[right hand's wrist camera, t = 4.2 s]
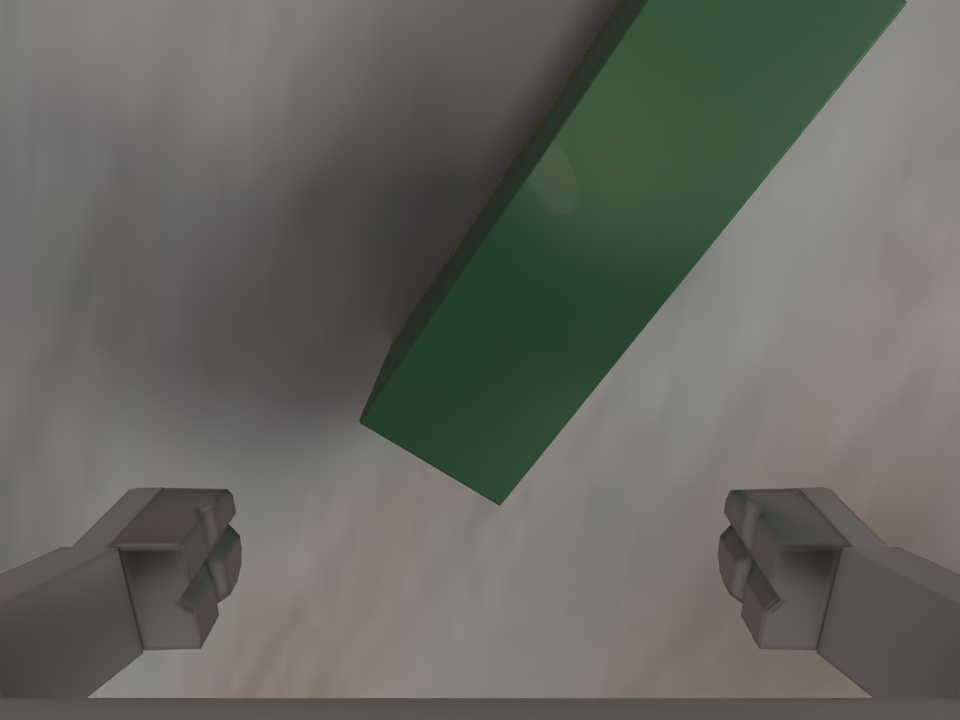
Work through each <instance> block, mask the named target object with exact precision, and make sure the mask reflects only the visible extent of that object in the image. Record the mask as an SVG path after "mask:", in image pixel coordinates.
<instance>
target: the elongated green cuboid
mask: <svg viewBox="0 0 960 720" xmlns="http://www.w3.org/2000/svg"><path fill="white" fill-rule="evenodd" d="M905 4H906V1H905V0H621V1H620V3H619V4H618V6H617V7H616V9H615V10H614V12H613V13H612V15H611V16H610V18H609V19H608V21H607V22H606V24H605V25H604V27H603V28H602V30H601V31H600V33H599V34H598V36H597V37H596V39H595V40H594V42H593V43H592V45H591V46H590V48H589V49H588V51H587V52H586V54H585V55H584V57H583V58H582V60H581V61H580V63H579V64H578V66H577V67H576V69H575V70H574V72H573V73H572V75H571V76H570V78H569V79H568V81H567V82H566V84H565V85H564V87H563V88H562V90H561V91H560V93H559V94H558V96H557V97H556V98H555V100H554V101H553V103H552V104H551V106H550V107H549V109H548V110H547V112H546V113H545V115H544V116H543V118H542V119H541V121H540V122H539V124H538V125H537V127H536V128H535V130H534V131H533V133H532V134H531V136H530V137H529V139H528V140H527V142H526V143H525V145H524V146H523V148H522V149H521V151H520V152H519V154H518V155H517V157H516V158H515V160H514V161H513V163H512V164H511V166H510V167H509V169H508V170H507V172H506V173H505V175H504V176H503V178H502V179H501V181H500V182H499V184H498V185H497V187H496V188H495V190H494V191H493V193H492V194H491V196H490V197H489V199H488V200H487V202H486V203H485V205H484V206H483V208H482V209H481V211H480V212H479V214H478V215H477V217H476V218H475V220H474V221H473V223H472V224H471V226H470V227H469V229H468V230H467V232H466V233H465V235H464V236H463V238H462V239H461V241H460V242H459V244H458V245H457V247H456V248H455V250H454V251H453V253H452V254H451V256H450V257H449V259H448V260H447V262H446V263H445V265H444V266H443V268H442V269H441V270H440V272H439V273H438V275H437V276H436V278H435V279H434V281H433V282H432V284H431V285H430V287H429V288H428V290H427V291H426V293H425V294H424V296H423V297H422V299H421V300H420V302H419V303H418V305H417V306H416V308H415V309H414V311H413V312H412V314H411V315H410V317H409V318H408V320H407V321H406V323H405V324H404V326H403V327H402V329H401V330H400V332H399V333H398V335H397V336H396V338H395V339H394V341H393V342H392V344H391V346H390V349H389V352H388V354H387V357H386V359H385V361H384V364H383V366H382V368H381V371H380V373H379V375H378V378H377V380H376V382H375V385H374V387H373V389H372V392H371V394H370V396H369V399H368V401H367V403H366V406H365V408H364V410H363V413H362V415H361V418H360V423H361V424H363V425H364V426H366V427H368V428H370V429H371V430H373V431H375V432H376V433H378V434H380V435H381V436H383V437H385V438H386V439H388V440H390V441H391V442H393V443H395V444H397V445H398V446H400V447H402V448H403V449H405V450H407V451H408V452H410V453H412V454H413V455H415V456H417V457H418V458H420V459H422V460H424V461H425V462H427V463H429V464H430V465H432V466H434V467H435V468H437V469H439V470H440V471H442V472H444V473H445V474H447V475H449V476H451V477H452V478H454V479H456V480H457V481H459V482H461V483H462V484H464V485H466V486H467V487H469V488H471V489H472V490H474V491H476V492H478V493H479V494H481V495H483V496H484V497H486V498H488V499H489V500H491V501H493V502H494V503H496V504H498V505H501V504H502V503H503V502H504V500H505V499H506V498H507V497H508V495H509V494H510V493H511V492H512V490H513V489H514V488H515V487H516V485H517V484H518V483H519V482H520V481H521V479H522V478H523V477H524V476H525V474H526V473H527V472H528V471H529V469H530V468H531V467H532V466H533V464H534V463H535V462H536V461H537V460H538V458H539V457H540V456H541V455H542V453H543V452H544V451H545V450H546V448H547V447H548V446H549V445H550V443H551V442H552V441H553V440H554V439H555V437H556V436H557V435H558V434H559V432H560V431H561V430H562V429H563V427H564V426H565V425H566V424H567V422H568V421H569V420H570V419H571V418H572V416H573V415H574V414H575V413H576V411H577V410H578V409H579V408H580V406H581V405H582V404H583V403H584V401H585V400H586V399H587V398H588V397H589V395H590V394H591V393H592V392H593V390H594V389H595V388H596V387H597V385H598V384H599V383H600V382H601V380H602V379H603V378H604V377H605V376H606V374H607V373H608V372H609V371H610V369H611V368H612V367H613V366H614V364H615V363H616V362H617V361H618V359H619V358H620V357H621V356H622V354H623V353H624V352H625V351H626V350H627V348H628V347H629V346H630V345H631V343H632V342H633V341H634V340H635V338H636V337H637V336H638V335H639V333H640V332H641V331H642V330H643V329H644V327H645V326H646V325H647V324H648V322H649V321H650V320H651V319H652V317H653V316H654V315H655V314H656V312H657V311H658V310H659V309H660V308H661V306H662V305H663V304H664V303H665V301H666V300H667V299H668V298H669V296H670V295H671V294H672V293H673V291H674V290H675V289H676V288H677V287H678V285H679V284H680V283H681V282H682V280H683V279H684V278H685V277H686V275H687V274H688V273H689V272H690V270H691V269H692V268H693V267H694V266H695V264H696V263H697V262H698V261H699V259H700V258H701V257H702V256H703V254H704V253H705V252H706V251H707V249H708V248H709V247H710V246H711V245H712V243H713V242H714V241H715V240H716V238H717V237H718V236H719V235H720V233H721V232H722V231H723V230H724V228H725V227H726V226H727V225H728V224H729V222H730V221H731V220H732V219H733V217H734V216H735V215H736V214H737V212H738V211H739V210H740V209H741V207H742V206H743V205H744V204H745V203H746V201H747V200H748V199H749V198H750V196H751V195H752V194H753V193H754V191H755V190H756V189H757V188H758V186H759V185H760V184H761V183H762V181H763V180H764V179H765V178H766V177H767V175H768V174H769V173H770V172H771V170H772V169H773V168H774V167H775V165H776V164H777V163H778V162H779V160H780V159H781V158H782V157H783V156H784V154H785V153H786V152H787V151H788V149H789V148H790V147H791V146H792V144H793V143H794V142H795V141H796V139H797V138H798V137H799V136H800V135H801V133H802V132H803V131H804V130H805V128H806V127H807V126H808V125H809V123H810V122H811V121H812V120H813V118H814V117H815V116H816V115H817V114H818V112H819V111H820V110H821V109H822V107H823V106H824V105H825V104H826V102H827V101H828V100H829V99H830V97H831V96H832V95H833V94H834V93H835V91H836V90H837V89H838V88H839V86H840V85H841V84H842V83H843V81H844V80H845V79H846V78H847V76H848V75H849V74H850V73H851V72H852V70H853V69H854V68H855V67H856V65H857V64H858V63H859V62H860V60H861V59H862V58H863V57H864V55H865V54H866V53H867V52H868V51H869V49H870V48H871V47H872V46H873V44H874V43H875V42H876V41H877V39H878V38H879V37H880V36H881V34H882V33H883V32H884V31H885V30H886V28H887V27H888V26H889V25H890V23H891V22H892V21H893V20H894V18H895V17H896V16H897V15H898V13H899V12H900V11H901V10H902V8H903V7H904V6H905Z"/></svg>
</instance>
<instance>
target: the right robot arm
mask: <svg viewBox="0 0 960 720" xmlns="http://www.w3.org/2000/svg"><path fill="white" fill-rule="evenodd" d="M235 513H236V510H235V505H234V500H233V495H232V494H231V493H230V492H229V491H228V490H227V489H194V488H135V489H130V490H129V491H128V492H127V493H126V494H124V495H123V496H122V497H121V498H120V499H119V500H118V501H117V502H116V503H115V504H114V505H113V506H112V507H111V508H110V509H109V510H108V511H107V512H106V513H105V514H104V515H103V516H102V517H101V518H100V519H99V520H98V521H97V522H96V523H95V524H94V525H93V526H92V527H91V528H90V529H89V530H88V531H87V532H86V533H85V534H84V535H83V536H82V537H81V538H80V539H79V540H78V541H77V542H76V543H75V544H74V545H73V546H72V547H61V548H59V549H56V550H54V551H52V552H50V553H47V554H45V555H43V556H41V557H39V558H36V559H34V560H32V561H30V562H27V563H25V564H23V565H21V566H19V567H16V568H14V569H12V570H10V571H7V572H5V573H3V574H1V575H0V720H960V575H959V574H957V573H955V572H952V571H950V570H948V569H946V568H944V567H941V566H939V565H937V564H935V563H932V562H930V561H928V560H926V559H924V558H921V557H919V556H917V555H915V554H913V553H910V552H908V551H906V550H904V549H901V548H899V547H888V546H887V545H886V544H885V543H884V542H883V541H882V540H881V539H880V538H879V537H878V536H877V535H876V534H875V533H874V532H873V531H872V530H871V529H870V528H869V527H868V526H867V525H866V524H865V523H864V522H863V521H862V520H861V519H860V518H859V517H858V516H857V515H856V514H855V513H854V512H853V511H852V510H851V509H850V508H849V507H848V506H847V505H846V504H845V503H844V502H843V501H842V500H841V499H840V498H839V497H838V496H837V495H836V494H835V493H834V492H833V491H832V490H829V489H826V488H824V487H818V488H793V489H756V490H730V492H729V494H728V496H727V499H726V503H725V509H724V513H725V515H726V517H727V518H728V520H729V521H730V523H731V525H730V526H729V527H728V528H727V529H726V530H725V531H724V532H723V533H722V534H721V535H720V542H719V550H718V558H719V568H720V573H721V576H722V579H723V583H724V585H725V587H726V589H727V590H728V592H729V594H730V595H731V596H733V597H734V598H736V599H737V600H739V601H740V602H742V603H743V607H742V612H741V616H742V618H743V620H744V622H745V624H746V625H747V627H748V629H749V631H750V633H751V634H752V636H753V638H754V640H755V642H756V643H757V645H758V647H759V649H789V650H817V653H818V654H819V655H820V656H821V657H823V658H824V659H825V660H827V661H828V662H829V663H830V664H832V665H833V666H834V667H835V668H837V669H838V670H839V671H840V672H842V673H843V674H844V675H845V676H847V677H848V678H849V679H850V680H852V681H853V682H854V683H856V684H857V685H858V686H859V687H861V688H862V689H863V690H864V691H866V692H867V693H868V694H869V695H871V696H872V697H873V698H87V697H88V696H90V695H91V694H92V693H93V692H95V691H96V690H97V689H98V688H100V687H101V686H102V685H103V684H105V683H106V682H107V681H108V680H110V679H111V678H112V677H114V676H115V675H116V674H117V673H119V672H120V671H121V670H122V669H124V668H125V667H126V666H127V665H129V664H130V663H131V662H132V661H134V660H135V659H136V658H138V657H139V656H140V655H141V654H143V651H142V650H170V649H201V647H202V645H203V644H204V642H205V640H206V638H207V636H208V635H209V633H210V631H211V629H212V627H213V625H214V624H215V622H216V620H217V618H218V616H219V612H218V607H217V603H219V602H220V601H221V600H223V599H224V598H226V597H227V596H229V595H230V594H231V592H232V590H233V588H234V586H235V585H236V583H237V580H238V576H239V571H240V567H241V559H242V547H241V541H240V535H239V534H238V533H237V532H236V531H235V530H234V529H233V528H232V527H231V526H230V525H229V523H230V521H231V520H232V518H233V517H234V515H235Z"/></svg>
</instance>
